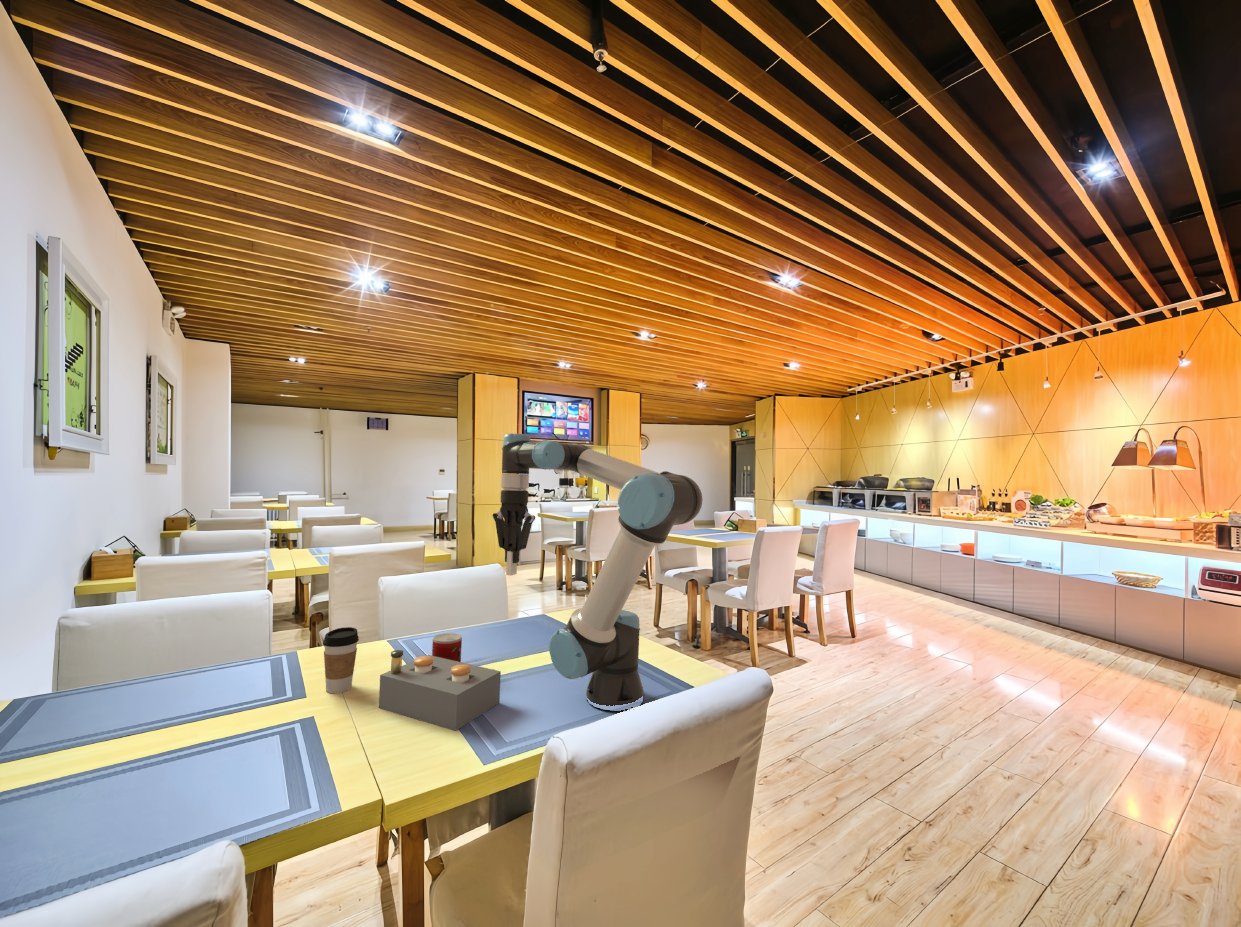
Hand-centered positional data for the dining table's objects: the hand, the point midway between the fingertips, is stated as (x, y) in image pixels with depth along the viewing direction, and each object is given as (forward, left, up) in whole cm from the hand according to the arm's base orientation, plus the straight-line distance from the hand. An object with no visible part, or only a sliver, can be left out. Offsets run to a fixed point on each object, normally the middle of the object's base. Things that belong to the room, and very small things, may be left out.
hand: (511, 574), depth 143 cm
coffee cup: (+37, +23, -31) cm, 53 cm away
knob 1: (+13, +18, -28) cm, 36 cm away
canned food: (+19, +3, -31) cm, 36 cm away
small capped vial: (+17, +23, -22) cm, 36 cm away
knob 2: (+1, +18, -28) cm, 33 cm away
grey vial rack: (+7, +18, -30) cm, 36 cm away
